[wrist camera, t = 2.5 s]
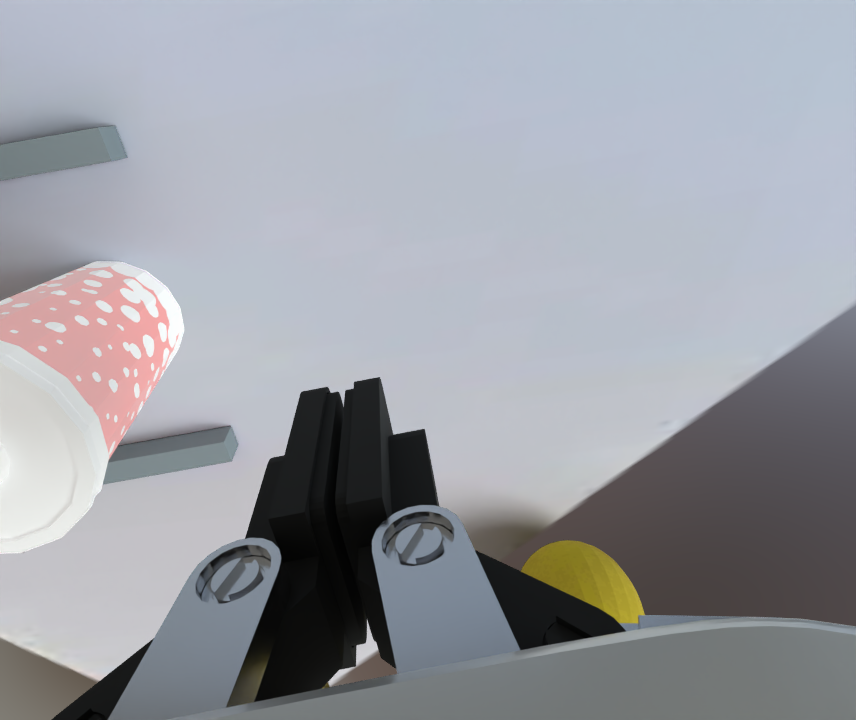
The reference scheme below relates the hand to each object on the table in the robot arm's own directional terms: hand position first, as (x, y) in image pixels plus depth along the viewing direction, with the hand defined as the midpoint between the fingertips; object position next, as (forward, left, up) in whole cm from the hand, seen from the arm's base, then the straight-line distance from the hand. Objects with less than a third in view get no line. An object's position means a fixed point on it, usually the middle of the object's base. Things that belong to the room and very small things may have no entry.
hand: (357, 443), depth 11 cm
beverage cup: (+10, -1, -11) cm, 14 cm away
